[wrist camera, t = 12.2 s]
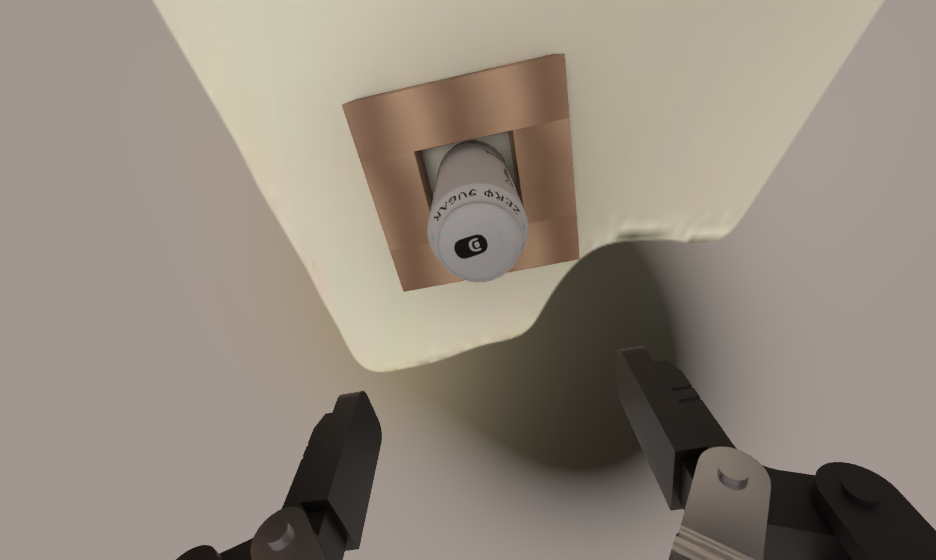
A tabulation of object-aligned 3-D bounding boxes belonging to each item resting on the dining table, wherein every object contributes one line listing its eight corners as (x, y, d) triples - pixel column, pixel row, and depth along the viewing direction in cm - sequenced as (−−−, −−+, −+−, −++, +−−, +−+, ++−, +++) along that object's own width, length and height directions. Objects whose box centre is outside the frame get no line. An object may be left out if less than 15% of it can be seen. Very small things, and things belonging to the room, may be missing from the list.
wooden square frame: (552, 54, 31) (564, 53, 27) (568, 240, 38) (579, 258, 35) (354, 99, 32) (341, 104, 29) (408, 271, 40) (403, 291, 36)
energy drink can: (514, 194, 36) (545, 273, 23) (452, 216, 37) (447, 303, 24) (494, 128, 33) (516, 175, 20) (428, 153, 34) (407, 213, 21)
